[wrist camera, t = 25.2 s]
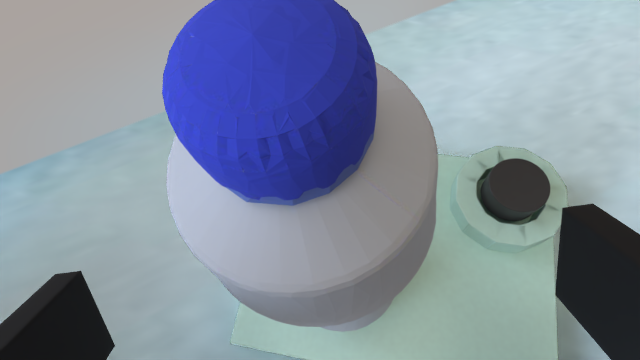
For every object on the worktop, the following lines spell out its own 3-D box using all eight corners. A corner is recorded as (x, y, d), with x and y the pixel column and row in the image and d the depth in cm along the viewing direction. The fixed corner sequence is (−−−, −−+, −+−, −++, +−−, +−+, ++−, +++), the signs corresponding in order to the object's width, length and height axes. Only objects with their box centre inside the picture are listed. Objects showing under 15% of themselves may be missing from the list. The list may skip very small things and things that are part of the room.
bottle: (280, 238, 25) (31, -57, 7) (381, 212, 25) (415, -162, 6) (301, 349, 22) (-21, 375, 4) (415, 320, 22) (642, 203, 4)
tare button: (479, 217, 22) (487, 207, 21) (481, 167, 24) (489, 154, 22) (538, 225, 22) (552, 215, 20) (537, 173, 23) (550, 161, 21)
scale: (235, 343, 24) (218, 343, 21) (284, 143, 29) (275, 122, 26) (552, 411, 21) (580, 421, 18) (544, 172, 26) (565, 152, 23)
